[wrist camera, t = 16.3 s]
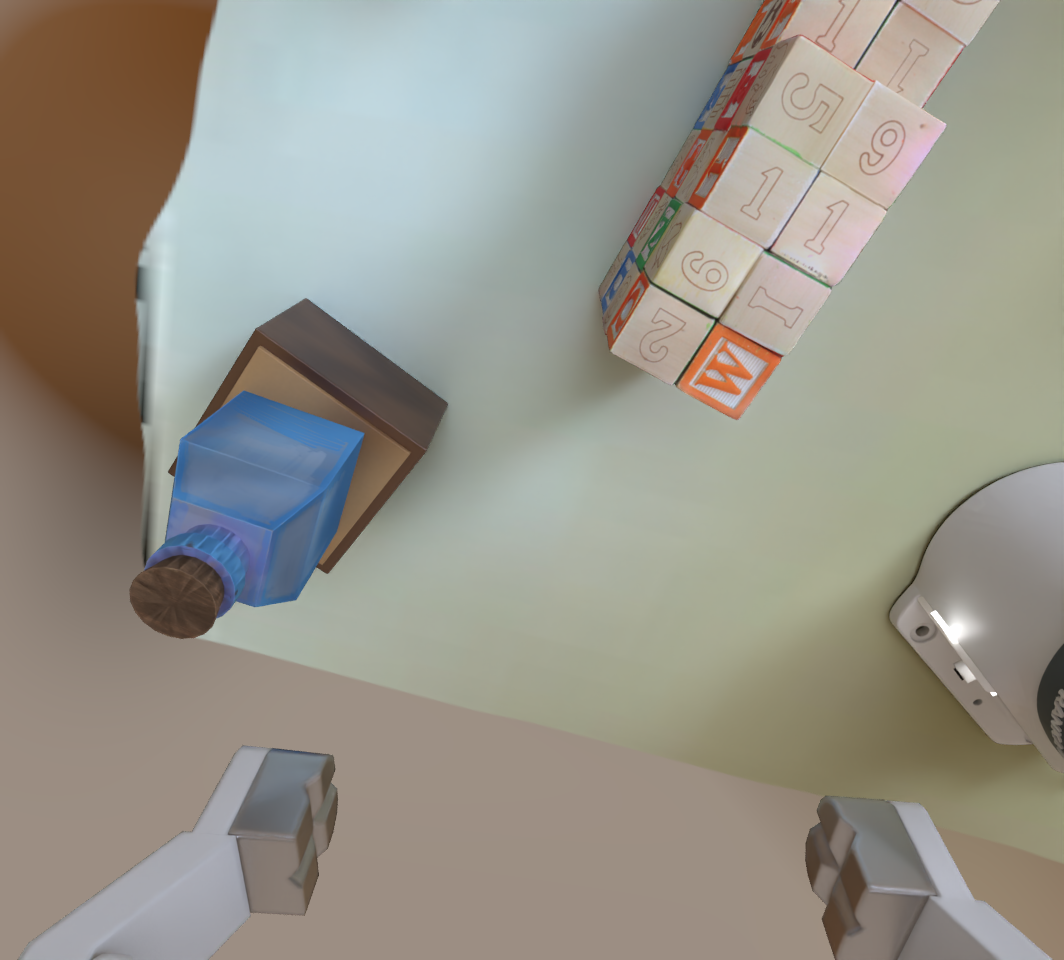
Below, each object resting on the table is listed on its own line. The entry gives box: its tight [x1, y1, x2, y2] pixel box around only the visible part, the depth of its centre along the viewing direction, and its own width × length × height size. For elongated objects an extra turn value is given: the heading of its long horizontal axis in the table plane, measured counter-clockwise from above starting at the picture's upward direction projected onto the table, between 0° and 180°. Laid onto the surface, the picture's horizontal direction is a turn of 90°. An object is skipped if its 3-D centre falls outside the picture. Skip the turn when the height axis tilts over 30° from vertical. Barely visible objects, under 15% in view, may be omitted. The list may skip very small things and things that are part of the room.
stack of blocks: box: [599, 0, 1000, 420], centre depth 29 cm, size 21×6×12 cm, turn 152°
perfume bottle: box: [130, 391, 365, 639], centre depth 31 cm, size 6×6×12 cm
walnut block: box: [168, 298, 448, 574], centre depth 39 cm, size 10×10×7 cm
